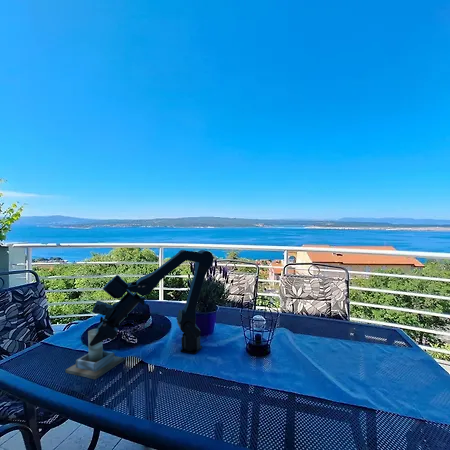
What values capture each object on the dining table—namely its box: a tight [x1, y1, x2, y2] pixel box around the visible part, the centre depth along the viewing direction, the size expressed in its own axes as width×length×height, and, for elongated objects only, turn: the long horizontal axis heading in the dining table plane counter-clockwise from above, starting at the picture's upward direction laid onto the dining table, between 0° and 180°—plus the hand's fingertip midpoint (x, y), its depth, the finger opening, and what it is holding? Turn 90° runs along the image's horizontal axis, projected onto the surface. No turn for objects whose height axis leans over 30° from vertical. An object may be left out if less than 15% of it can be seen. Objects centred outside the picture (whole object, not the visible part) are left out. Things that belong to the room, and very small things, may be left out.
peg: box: [87, 327, 104, 363], centre depth 95 cm, size 4×4×10 cm
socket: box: [65, 350, 125, 381], centre depth 95 cm, size 13×13×4 cm
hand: (91, 342), depth 95 cm, fingers closed on peg, 4 cm apart
